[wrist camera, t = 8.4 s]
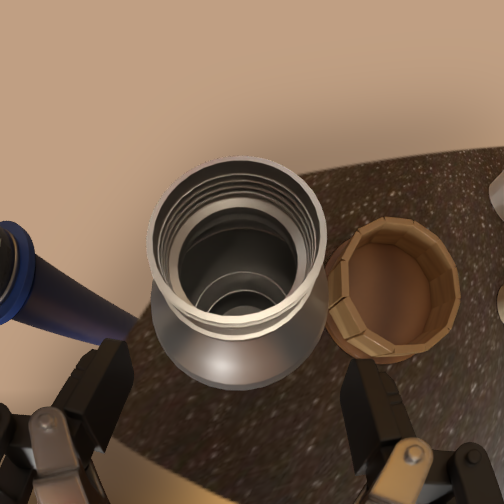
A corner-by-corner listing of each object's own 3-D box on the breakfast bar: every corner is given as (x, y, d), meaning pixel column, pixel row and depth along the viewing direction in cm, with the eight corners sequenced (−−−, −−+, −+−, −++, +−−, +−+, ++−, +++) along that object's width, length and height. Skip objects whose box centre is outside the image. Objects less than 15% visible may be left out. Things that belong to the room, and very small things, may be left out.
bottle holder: (316, 365, 24) (332, 363, 19) (317, 231, 28) (329, 204, 24) (437, 359, 24) (469, 354, 19) (427, 241, 28) (452, 219, 24)
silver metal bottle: (298, 321, 25) (423, 179, 7) (259, 393, 23) (304, 469, 4) (230, 285, 26) (198, 84, 8) (189, 354, 24) (31, 290, 5)
